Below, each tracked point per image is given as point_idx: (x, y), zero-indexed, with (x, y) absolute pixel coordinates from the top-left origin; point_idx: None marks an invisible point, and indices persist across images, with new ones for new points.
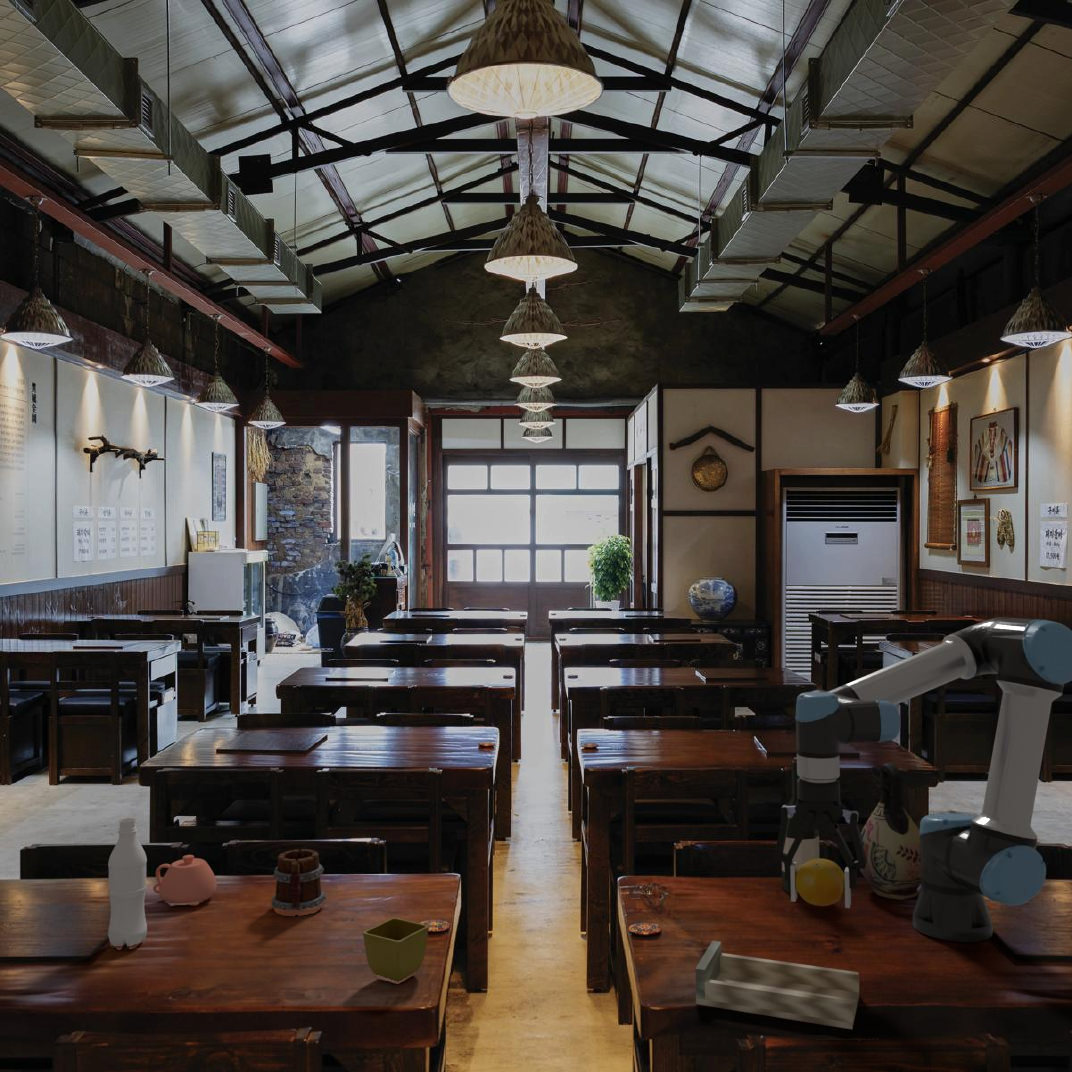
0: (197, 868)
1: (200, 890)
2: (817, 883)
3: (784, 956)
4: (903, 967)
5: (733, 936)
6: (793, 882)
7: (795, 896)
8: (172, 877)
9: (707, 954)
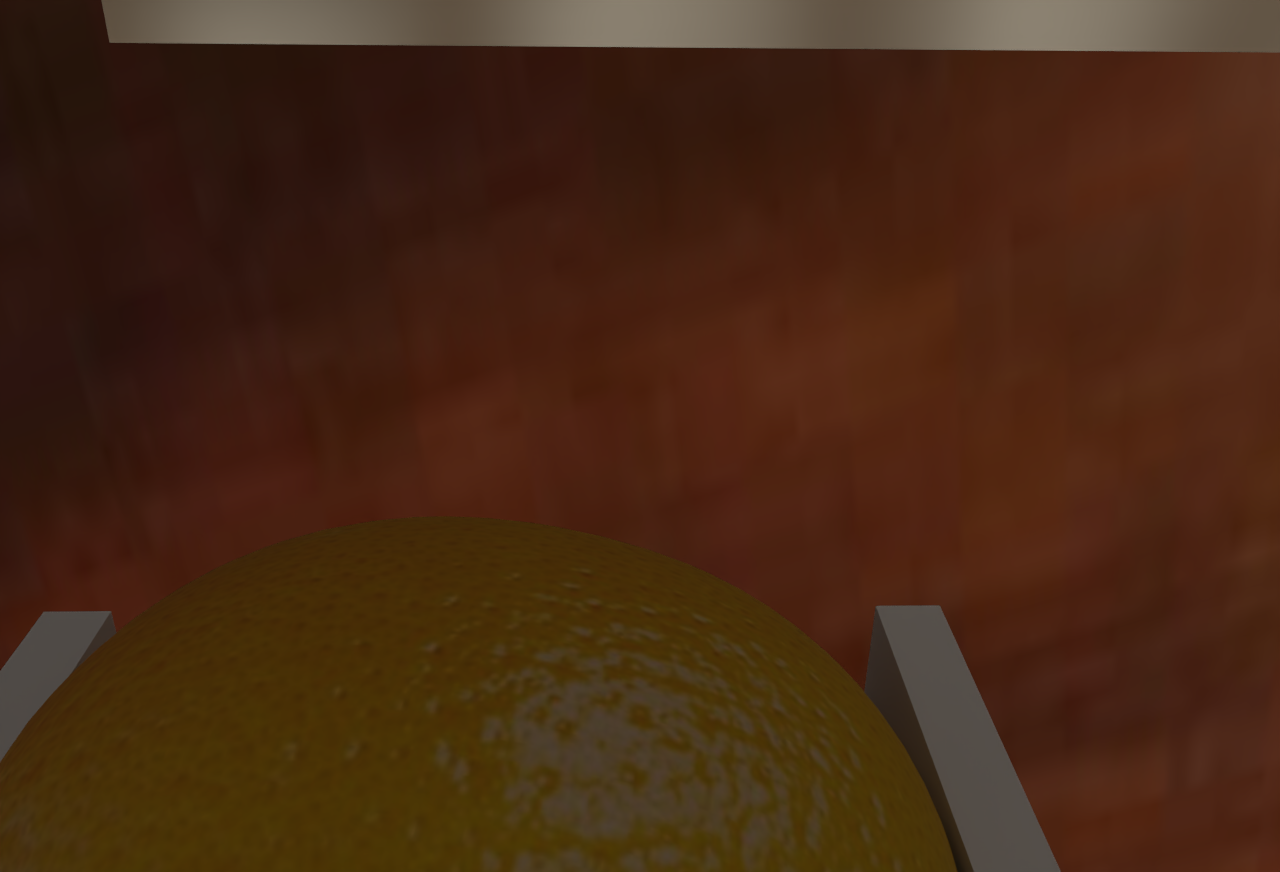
0: None
1: None
2: (437, 703)
3: (860, 556)
4: None
5: (1226, 751)
6: (989, 835)
7: (888, 684)
8: None
9: None
